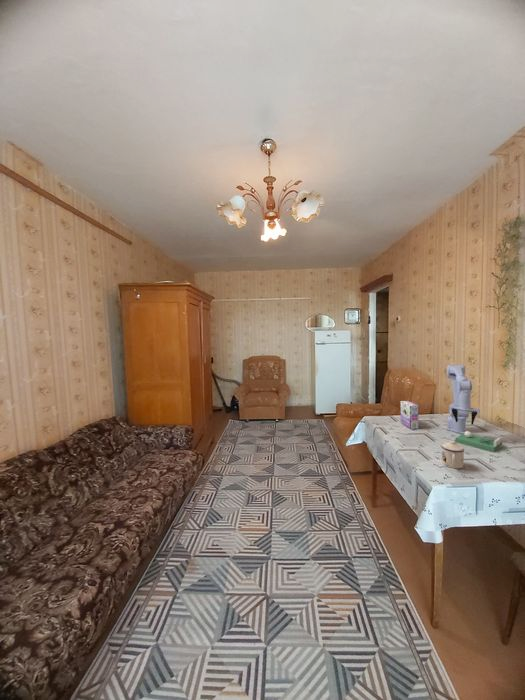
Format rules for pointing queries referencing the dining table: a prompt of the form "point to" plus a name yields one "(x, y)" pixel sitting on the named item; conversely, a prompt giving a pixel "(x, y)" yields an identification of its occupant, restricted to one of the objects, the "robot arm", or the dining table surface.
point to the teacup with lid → (452, 455)
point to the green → (480, 442)
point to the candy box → (409, 414)
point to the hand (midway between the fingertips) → (464, 422)
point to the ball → (468, 434)
